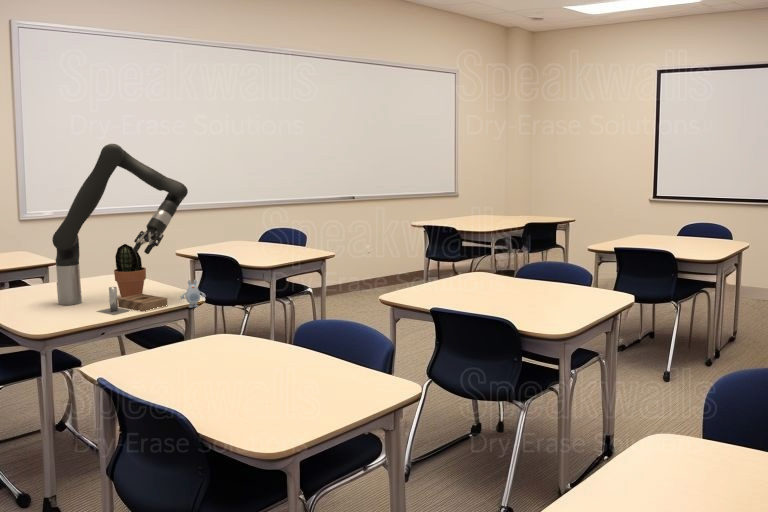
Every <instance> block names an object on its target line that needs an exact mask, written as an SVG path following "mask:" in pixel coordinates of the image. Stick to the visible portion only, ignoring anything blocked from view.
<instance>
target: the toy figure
mask: <svg viewBox="0 0 768 512" xmlns="http://www.w3.org/2000/svg"><path fill="white" fill-rule="evenodd" d="M197 283H198V281H197V279H194V280H193V283H192V281H191V280H190V279H188V281H187V284H188V287H187V288H186V292H185V293H183V294H182V295H181V296H180V298H179V299H180V301H181V300H183V299H185V300H186V302H187V303H188V304H189V305H188V308H189V309H192V308H199V305H198V303H199V302H200V300H201V297H202V298H203V299H204V298H206V297H207V295H206V294H205V293H204V292H202V291H200V289H199V288H198V286H197Z"/></svg>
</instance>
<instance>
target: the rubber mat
mask: <svg viewBox="0 0 768 512" xmlns="http://www.w3.org/2000/svg"><path fill="white" fill-rule="evenodd" d="M130 310H131V309H127V308H122V307H118V311H116V312H110V307H109V308H105V309H100V310H96V311H95V312H97V313H101V314H106V315H112V316H117V315H120V314H125V313H129V311H130ZM130 312H131V311H130Z"/></svg>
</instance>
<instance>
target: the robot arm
mask: <svg viewBox="0 0 768 512" xmlns="http://www.w3.org/2000/svg"><path fill="white" fill-rule="evenodd" d="M96 160H97V161H96V163H95V164H94V165H95V166H94V167H93V169H92V171H91V172H90V173H89V175H88V176H87V177H86V179H85V181H84V182H83V183H82V185H81V186H80V188H79V190H78V191H77V194H76V195H75V197H74V199H73V201H72V203H71V205H70V207H69V210H68V212H67V214H66V215H65V218H64V220H63V221H62V223H61V224H60V225H59V226H58V228H57V229H56V230H55V232H54V233H53V235H52V239H51V240H52V245H53V246H54V247H55V248H56V257H55V266H56V267H55V270H56V280H57V281H56V290H57V291H56V292H57V302H58V304H59V305H60V306H72V305H73V304H74V305H78V304H81V303H82V302H83V299H82V298H83V297H82V284H81V271H80V269H81V268H80V255H81V253H80V241H79V240H80V238H79V233H80V230H81V228H82V227H83V226H84V223H85V222H86V221H87V220H88V219H89V218H90V216H91V215H92V213H94V211H95V209H96V208H97V206H98V205H99V203H100V201H101V199H102V198H103V196H104V193H105V191H106V188H107V185H108V182H109V180H110V178H111V177H112V175H113V174H114V172H115V170H116V168H117V167H119V168H121V169H124V170H125V171H127V172H129V173H130V174H132V175H134V176H135V177H137V178H138V179H139V180H140V181H142V182H143V183H145V184H147V185H148V186H150V187H151V188H153V189H155V190H157V191H160V192H162V191H164V192H167V194H166V196H165V197H164V199H163V201H162V202H161V203H160V205H159V207H158V208H157V210H156V211H155V212H154V214H152V217H151V218H150V219H149V221H148V223H147V224H146V231H143V230H141V231H140V232H139V233H138V234H137V236H136V238H135V239H134V240H133V242H135V245H134V246H133V247H132V248H133V249H132V251H133V252H134V253H137V252H138V253H139V250H140V248H141V247H142V246H143V245H144V244H147V243H148V245H147V246H146V247H145V249H144V251H143V252H144V253H145V254H146V255H149V254H150V253H151V251H152V249H153V248H155V247H159V245H160V244H161V241H162V240H163V238H164V232H165V231H166V229H167V227H168V226H169V224H170V223H171V220H172V218H173V217H174V216H175V214H176V213H177V209H178V207H179V206H180V204H181V203H182V202H183V201H184V199H185V198H186V197H187V195H188V193H189V192H188V191H189V190H188V187H186V185H185V184H183V182H180V181H178V180H176V179H173V178H170V177H167V176H166V175H164V174H162V173H161V172H159V171H157V170H155V169H154V168H152V167H150V166H149V165H147V164H144V162H143V163H142V162H141V161H139V160H138V159H136V158H134V157H133V156H132V155H130V153H128V152H127V151H126V150H124V149H123V148H122V147H121V146H120V145H119V144H116V143H109V144H106V145H104V146H103V147H102V148H101V150H100V153H99V156H98V158H97V159H96ZM74 305H73V306H74Z"/></svg>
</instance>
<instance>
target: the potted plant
mask: <svg viewBox="0 0 768 512" xmlns="http://www.w3.org/2000/svg"><path fill="white" fill-rule="evenodd" d="M133 248H134V247H133V246H131V245H128V243H127V244H126V243H124V244H121V246H119V247H117V250H116V253H115V257H114V258H115V268H116V269H114V270H113V275H114V281H115V282H116V284H117V287H118V290H119V294H120V298H123V297H128V296H133V295H137V294H144V286H145V284H144V283H145V280H146V279H147V272H146V271H147V268H146V267H144V266H143V264H142V263H143V262H142V257H141V255H140V254H139V251H138V252H137V253H134V252H133V251H132V249H133Z"/></svg>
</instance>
